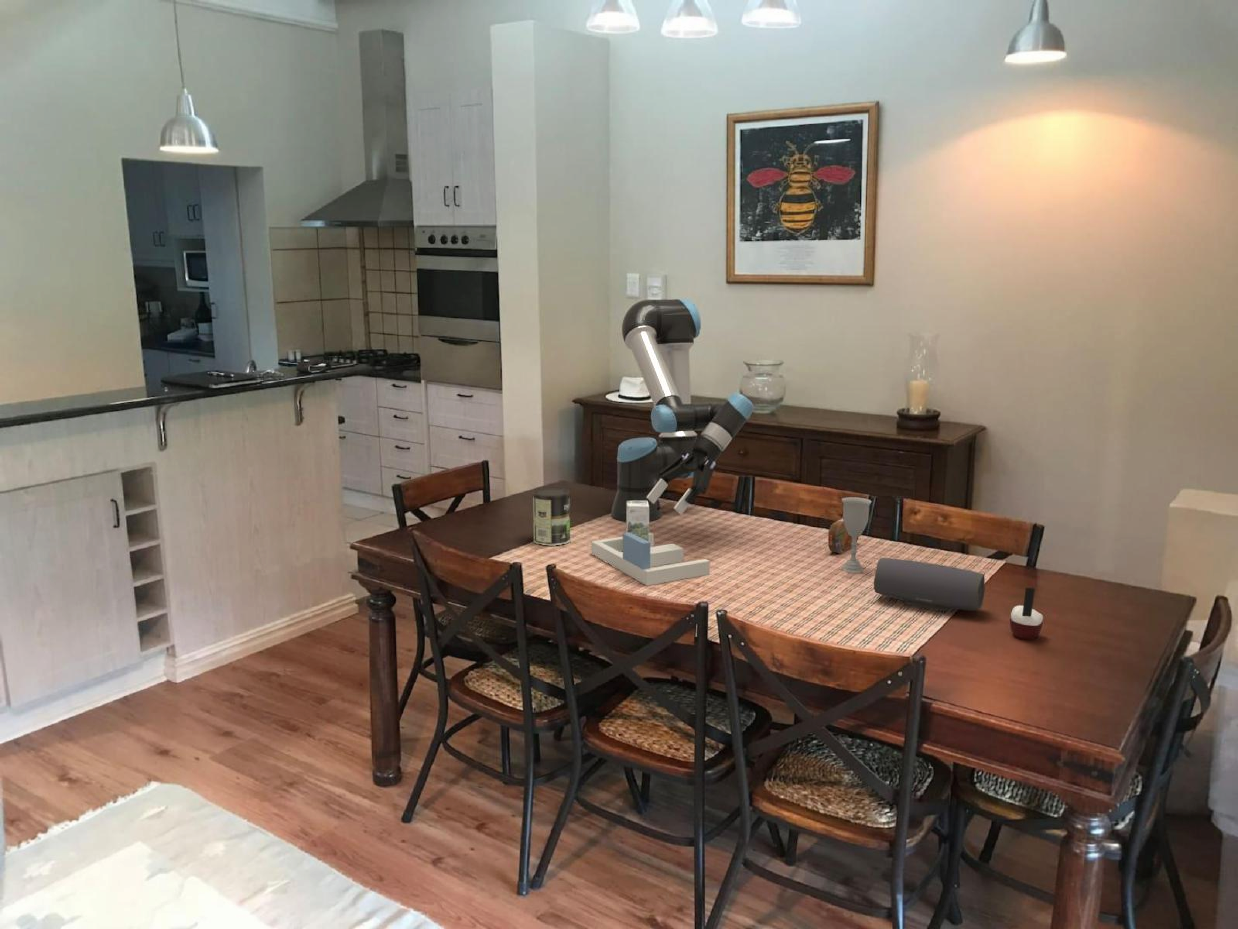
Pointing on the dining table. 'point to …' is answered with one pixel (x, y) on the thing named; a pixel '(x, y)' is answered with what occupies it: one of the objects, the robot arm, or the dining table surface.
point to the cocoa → (1026, 618)
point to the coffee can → (551, 516)
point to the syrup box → (638, 519)
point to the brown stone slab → (839, 537)
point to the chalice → (855, 527)
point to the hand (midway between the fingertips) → (663, 505)
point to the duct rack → (648, 559)
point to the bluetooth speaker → (929, 585)
